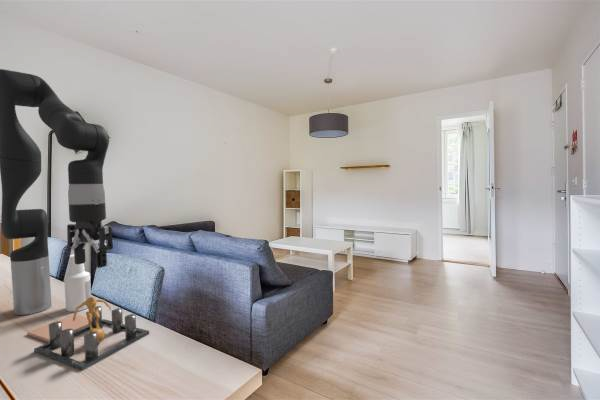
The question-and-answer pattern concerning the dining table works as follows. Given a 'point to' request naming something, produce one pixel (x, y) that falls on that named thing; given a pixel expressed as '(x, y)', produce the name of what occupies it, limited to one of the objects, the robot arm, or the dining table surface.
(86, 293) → the white piece
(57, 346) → the standoff field
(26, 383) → the dining table surface
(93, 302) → the figurine
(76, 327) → the terracotta tile
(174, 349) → the dining table surface
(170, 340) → the dining table surface
